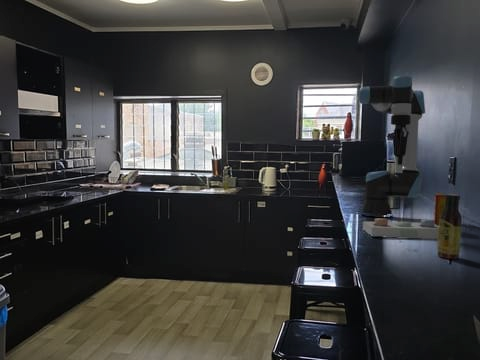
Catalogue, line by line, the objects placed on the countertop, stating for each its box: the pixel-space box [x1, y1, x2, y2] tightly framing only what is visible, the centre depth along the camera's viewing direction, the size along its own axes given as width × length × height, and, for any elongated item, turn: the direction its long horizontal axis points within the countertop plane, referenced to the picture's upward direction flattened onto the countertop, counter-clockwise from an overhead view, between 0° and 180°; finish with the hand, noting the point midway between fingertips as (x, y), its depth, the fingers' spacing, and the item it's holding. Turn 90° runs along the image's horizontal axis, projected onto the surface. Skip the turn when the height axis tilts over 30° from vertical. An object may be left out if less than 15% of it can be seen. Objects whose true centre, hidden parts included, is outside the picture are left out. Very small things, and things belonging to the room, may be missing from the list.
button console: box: [362, 220, 439, 240], centre depth 174 cm, size 15×28×4 cm, turn 88°
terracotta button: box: [373, 218, 389, 226], centre depth 172 cm, size 5×5×3 cm
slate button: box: [420, 218, 435, 228], centre depth 172 cm, size 5×5×3 cm
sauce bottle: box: [437, 193, 463, 260], centre depth 136 cm, size 6×6×20 cm
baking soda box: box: [433, 192, 447, 226], centre depth 184 cm, size 10×6×16 cm
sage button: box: [397, 221, 412, 227], centre depth 172 cm, size 5×5×3 cm
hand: (398, 172), depth 180 cm, fingers closed
